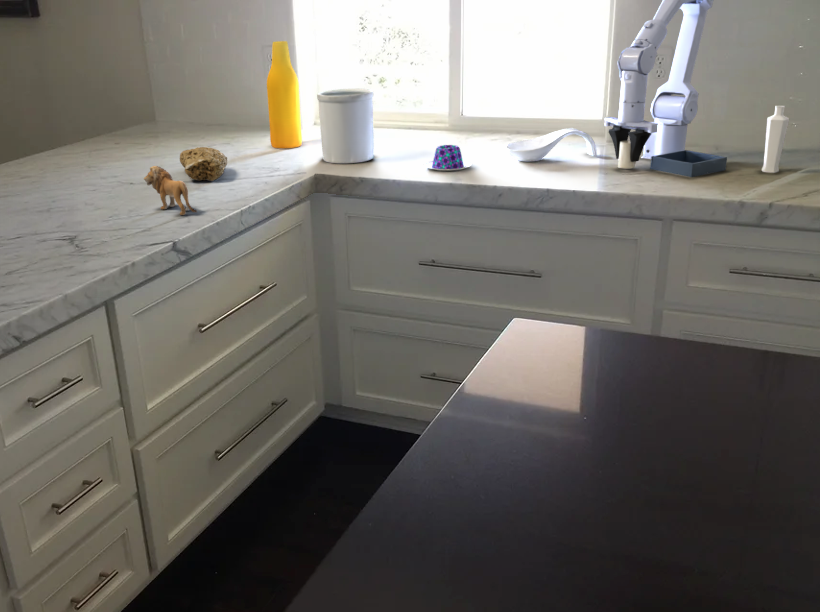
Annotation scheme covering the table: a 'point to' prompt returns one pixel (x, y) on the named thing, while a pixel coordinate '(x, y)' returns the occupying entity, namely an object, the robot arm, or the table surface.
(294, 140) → the beer bottle
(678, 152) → the bin
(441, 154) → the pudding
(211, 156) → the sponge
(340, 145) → the utensil holder
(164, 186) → the lion figurine
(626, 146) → the cream cylinder
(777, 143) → the perfume bottle
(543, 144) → the spoon rest
